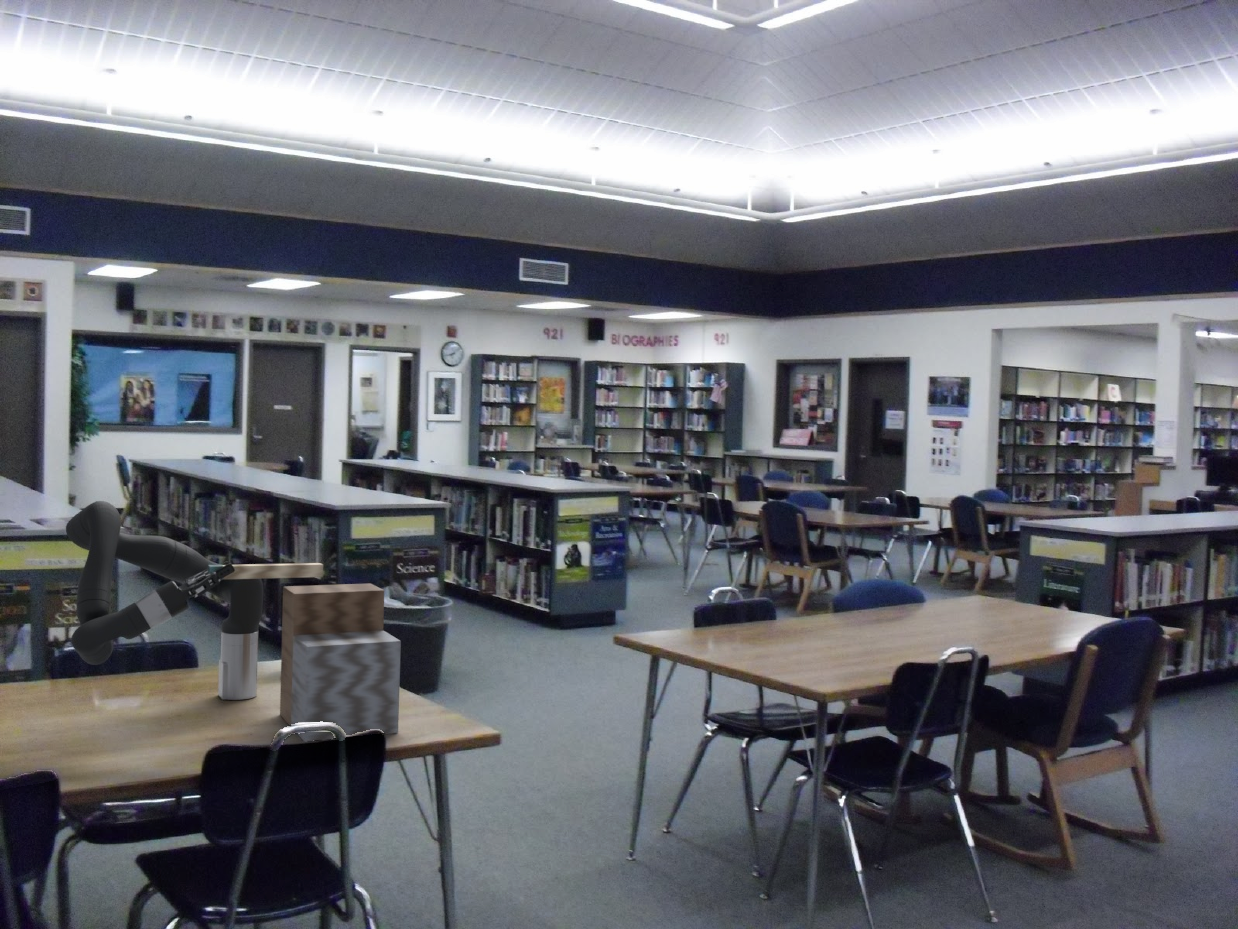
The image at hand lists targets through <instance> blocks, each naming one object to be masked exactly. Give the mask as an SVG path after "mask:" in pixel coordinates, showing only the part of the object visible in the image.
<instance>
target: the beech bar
mask: <svg viewBox="0 0 1238 929" xmlns="http://www.w3.org/2000/svg"><path fill="white" fill-rule="evenodd" d="M223 566H225V565H221V564H220V565H208V574H210V573H212V572H213V571H216V570H218V569H220V568H221V567H223ZM232 566H233V567H234V569H235V571H234V572H233V573H231V574H229V575H227V576H226V577H224V578H222V579H221V580H223V579H261V580H262V579H291V578H295V579H296V578H297V579H298V578H299V579H300V578H323V577H324V564H323V563H320V562H310V563H309V562H308V563H307V562H305V563H302V562H301V563H300V562H299V563H298V562H297V563H255V564H254V563H252V564H251V563H249V564H243V563H242V564H232ZM209 580H211V579H209Z"/></svg>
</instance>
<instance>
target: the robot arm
mask: <svg viewBox="0 0 1238 929" xmlns="http://www.w3.org/2000/svg"><path fill="white" fill-rule="evenodd" d="M121 527H122V517H121V514H120V513H119V511H118V509H117V508H116V507H115V506H114V505H113V504H111V503H110V502H107V501H104V500H97V501H94V502H92V503H90V504H88V505H87V506H85V507H84V508H83V509H82V510H80V511H78V512H77V513H76V514H75V515H74V516H72V517H71V518H70V519H69V520H68V522H67V523H66V526H65V532H66V535H67V537H68V539H69V540H70V541H71V542H72V543H73V544H74V545H76V546H77V547H79V548H81V549H83V550H86V551H88V554H87V558H86V560H85V564H84V566H83V569H82V572H81V574H80V577H79V580H78V584H77V585H78V586H77V589H76V616H77V617H76V618H77V620H78V622H79V624H80V625H79V627H77V628H76V629H75V630H74V631H73V633H72V635H71V638H70V639H71V641H70V642H71V645H72V647H73V649H74V650H75V651H76V653H77V654H78V655H79V657H80V658H81V659H82V660H83V661H84V662H85V663H86V664H88V665H92V666H93V665H94V666H95V665H96V666H97V665H101V664H103V663H105V662H107V661H108V659H109V658H110V657H111V655H112V653H113V651H114V641H115V640H117V639H118V638H123V639H125V640H133V639H135V638H137V637H139V636H140V635H143V634H145V633H146V632H148V631H149V630H151V629H154V628H155V627H158V626H160V625H162V624H164V623H166V622H167V621H170V620H171V619H173V618H174V617H176V616H178V615H180V614H181V613H183V612H185V611H187V610H189V608H190V604H189V603H188V602H187V599H190V598H197V597H201V596H202V595H204V594H206V593H207V592H208V593H209V594H211V595H213V596H215V597H217V598H218V599H220V600H221V601H224V602H226V603H228V604H229V613H228V616H227V618H225V619H223V620H222V622H221V630H220V632H221V633H220V634H221V636H220V638H221V639H220V640H221V641H220V658H219V660H218V684H217V685H218V687H217V690H218V693H217V694H218V696H219V697H220V699H221V700H232V701H237V700H238V701H239V700H248V699H252V698H255V697H257V695H258V693H257V692H258V658H259V657H258V656H259V655H258V653H259V652H258V651H259V625H260V623H261V621H262V616H263V608H264V583H263V579H262V578H261V579H223V580H221V579H222V578H224V577H226V576H227V575H229V574H231V573H233V572H234V571H235V569H234V567H233V566H232V565H233V564H232V563H230V561H227V560H226V561H224V562H222V563H220V564H219V563H218V562H217V563H216V562H215V561H212V560H210V559H207V558H206V557H204V556H203V555H202V554H200V553H199V552H198V551H196V550H195V549H194V548H191V547H190V546H188V545H186V544H183V543H181V542H179V541H177V540H174V539H172V538H170V537H168V536H167V537H166V536H160V535H143V534H141V535H140V534H128V533H123V532H121ZM115 559H117V560H120V561H123V562H126V563H128V564H131V565H134V566H136V567H140V568H142V569H144V570H147V571H149V572H152V573H154V574H156V575H159V576H161V577H164V578H166V579H169V580H170V581H168V582H166V583H164V584H163V585H161V586H160V587H157V588H155V589H153V590H152V591H149V592H148V593H147V594H144V595H143V596H142V597H140V598H139V599H138V600H136V601H135V602H133V603H131V604H129V605H128V606H125V607H124V608H121V609H120V610H119V611H116V612H112V613H111V606H112V605H111V597H112V596H111V594H112V577H113V569H114V565H115V564H114V562H115ZM208 565H225V566H223V567H221V568H220V569H218V570H216V571H213V572H212V573H210V574H208ZM209 579H211V580H209ZM176 582H178V583H181V585H179V586H178V585H177V583H176Z"/></svg>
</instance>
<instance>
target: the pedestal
mask: <svg viewBox="0 0 1238 929" xmlns="http://www.w3.org/2000/svg"><path fill="white" fill-rule="evenodd" d="M282 593H283V594H282V616H281V617H282V618H281V621H282V623H281V624H282V625H281V626H282V628H281V657H280V658H281V660H280V661H281V662H280V696H279V697H280V699H279V700H280V701H279V715H280V716H281V718H282V719H283V720H284V721H285V722H286V723H287V724H288V725H289V726H290V725H291V724H295V723H298V722H320V721H323V722H333V723H336V725H338V726H340V727H341V728H342V729H343V730H344V732H345V733H346V735H352V734H355V733H357V732H363V731H366V730H370V729H380V730H382V731H383V732H384V733H385V734H384V735H387V734H397V732H398V733H399V720H400V719H399V715H400V714H399V713H400V688H401V687H400V684H401V683H400V681H401V677H400V676H401V653H402V652H401V650H402V648H401V647H402V642H401V641H402V640H400V639H398V638H396V637H395V636H393V635H391V633H389V632H387V631H385V630H384V617H385V589H383V588H380V587H378V586H377V585H375V584H373V583H371V582H370V583H352V584H351V583H348V584H347V583H346V584H345V583H343V584H342V583H341V584H318V585H293V586H292V585H291V586H289V585H288V586H283V587H282ZM297 735H298V737H300V739H302V741H303V742H304V743H308V742H307V741H312V742H314V741H313V740H322V741H325V740H324V739H331V740H333V739H332V738H334V736H333V734H332V733H331V732H305V733H300V734H297Z"/></svg>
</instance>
